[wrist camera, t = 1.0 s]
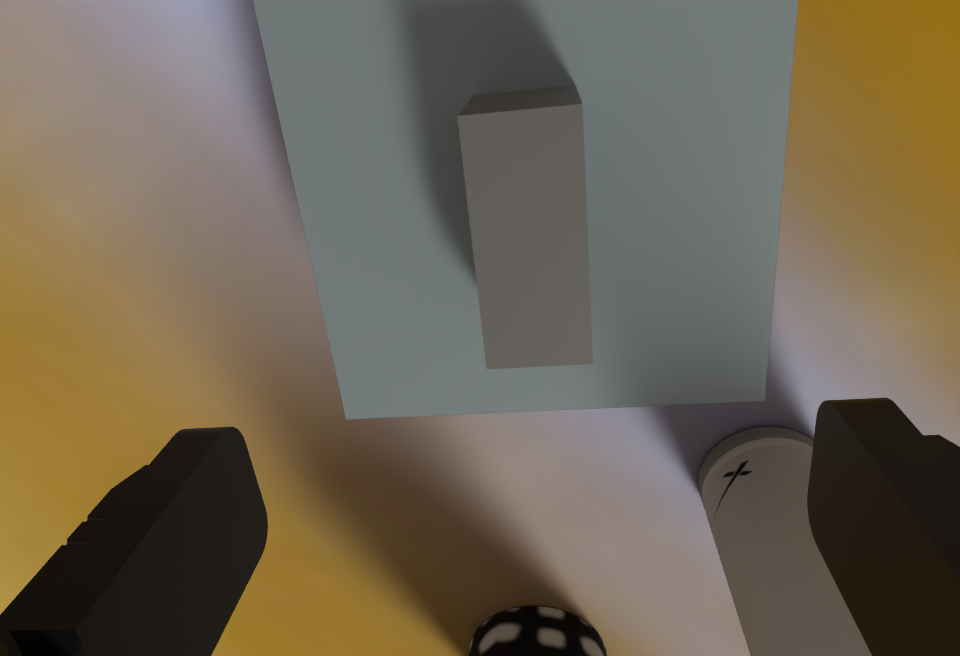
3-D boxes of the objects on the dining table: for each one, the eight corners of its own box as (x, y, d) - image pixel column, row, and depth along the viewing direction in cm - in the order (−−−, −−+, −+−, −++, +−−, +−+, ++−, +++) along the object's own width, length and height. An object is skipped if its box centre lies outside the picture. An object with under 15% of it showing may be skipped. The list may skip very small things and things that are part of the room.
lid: (784, -96, 19) (875, -133, 14) (750, 375, 25) (804, 473, 20) (268, -30, 21) (176, -40, 16) (357, 394, 27) (313, 488, 22)
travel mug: (685, 432, 34) (845, 923, 16) (826, 415, 33) (1170, 922, 15) (694, 530, 36) (841, 1047, 18) (825, 517, 35) (1118, 1054, 17)
